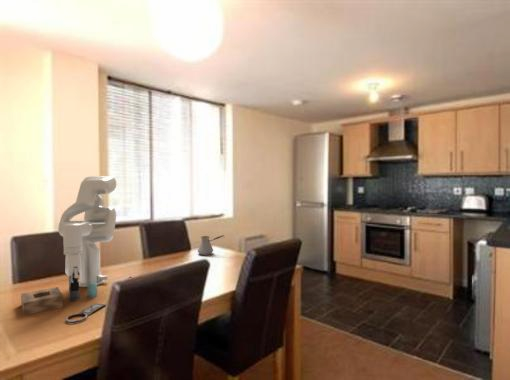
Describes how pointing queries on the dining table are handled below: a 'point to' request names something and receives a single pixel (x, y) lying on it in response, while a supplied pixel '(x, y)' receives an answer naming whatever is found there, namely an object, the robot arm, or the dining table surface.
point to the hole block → (41, 300)
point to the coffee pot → (206, 245)
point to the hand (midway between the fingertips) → (73, 289)
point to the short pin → (92, 289)
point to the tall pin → (73, 294)
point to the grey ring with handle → (84, 313)
